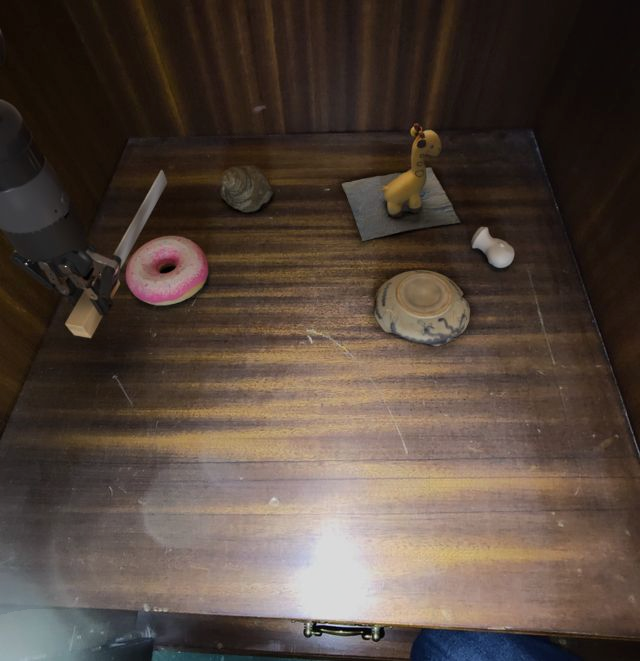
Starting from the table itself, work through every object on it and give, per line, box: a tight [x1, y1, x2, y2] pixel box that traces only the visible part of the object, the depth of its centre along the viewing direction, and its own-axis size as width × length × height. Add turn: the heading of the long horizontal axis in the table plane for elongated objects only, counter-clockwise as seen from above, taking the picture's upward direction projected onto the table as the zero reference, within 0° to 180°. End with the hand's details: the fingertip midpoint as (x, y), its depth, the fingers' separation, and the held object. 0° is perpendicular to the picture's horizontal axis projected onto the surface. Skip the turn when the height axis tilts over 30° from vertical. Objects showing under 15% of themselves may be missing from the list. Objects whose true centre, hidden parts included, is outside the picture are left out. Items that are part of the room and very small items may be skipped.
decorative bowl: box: [373, 269, 471, 347], centre depth 80 cm, size 15×4×15 cm
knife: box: [64, 169, 168, 339], centre depth 72 cm, size 29×2×3 cm, turn 168°
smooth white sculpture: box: [470, 226, 515, 269], centre depth 86 cm, size 4×8×5 cm
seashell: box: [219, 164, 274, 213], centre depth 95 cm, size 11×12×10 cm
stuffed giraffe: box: [341, 123, 461, 242], centre depth 90 cm, size 16×18×16 cm
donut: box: [125, 235, 209, 306], centre depth 85 cm, size 14×13×5 cm
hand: (96, 308), depth 67 cm, fingers closed on knife, 2 cm apart
